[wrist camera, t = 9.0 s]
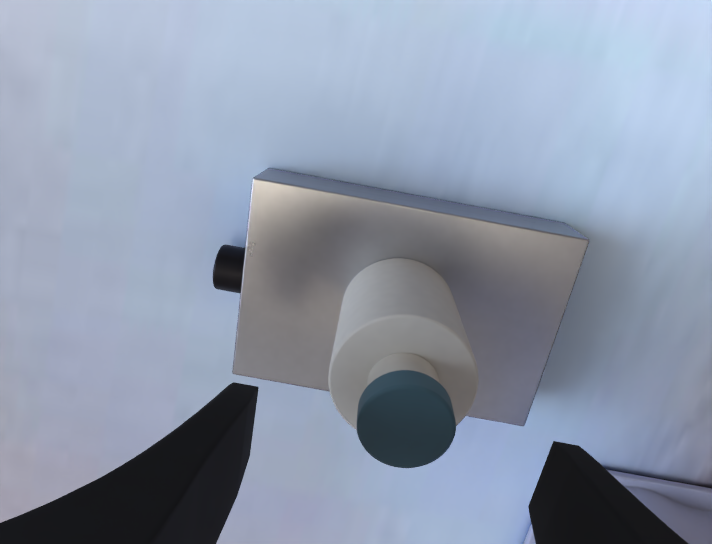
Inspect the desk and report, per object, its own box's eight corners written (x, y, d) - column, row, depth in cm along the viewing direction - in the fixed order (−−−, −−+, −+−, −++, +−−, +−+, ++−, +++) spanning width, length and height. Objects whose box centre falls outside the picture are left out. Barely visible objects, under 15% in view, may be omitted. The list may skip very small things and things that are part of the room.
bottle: (466, 268, 18) (516, 370, 11) (439, 368, 19) (469, 510, 13) (352, 247, 18) (333, 336, 11) (333, 349, 19) (307, 482, 12)
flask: (565, 222, 19) (591, 239, 17) (509, 392, 22) (524, 427, 20) (237, 161, 19) (217, 170, 17) (221, 340, 22) (202, 369, 20)
